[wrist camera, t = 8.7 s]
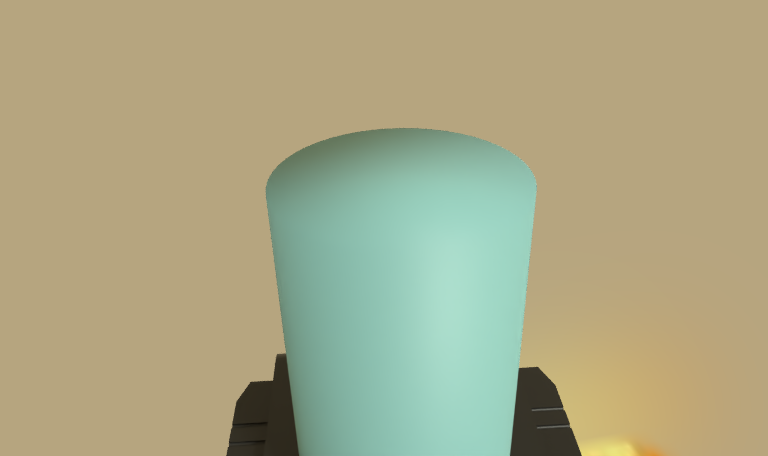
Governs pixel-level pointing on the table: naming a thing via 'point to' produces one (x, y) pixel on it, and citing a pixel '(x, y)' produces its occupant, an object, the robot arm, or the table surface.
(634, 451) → the table surface
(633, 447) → the table surface
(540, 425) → the robot arm
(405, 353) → the dowel
